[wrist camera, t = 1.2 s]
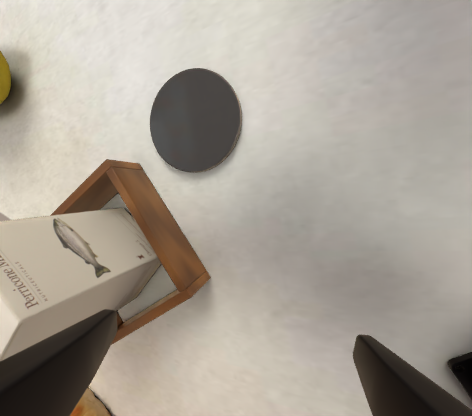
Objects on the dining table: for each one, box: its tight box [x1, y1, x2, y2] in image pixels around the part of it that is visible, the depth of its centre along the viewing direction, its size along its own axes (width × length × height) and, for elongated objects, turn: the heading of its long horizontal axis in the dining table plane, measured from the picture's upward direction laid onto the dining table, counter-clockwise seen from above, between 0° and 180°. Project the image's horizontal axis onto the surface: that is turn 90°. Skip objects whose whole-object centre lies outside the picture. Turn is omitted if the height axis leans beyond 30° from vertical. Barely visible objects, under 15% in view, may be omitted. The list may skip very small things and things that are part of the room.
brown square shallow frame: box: [50, 159, 211, 345], centre depth 22 cm, size 14×14×4 cm
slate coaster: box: [150, 68, 242, 172], centre depth 20 cm, size 9×9×1 cm
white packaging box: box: [0, 208, 161, 361], centre depth 18 cm, size 7×7×13 cm
